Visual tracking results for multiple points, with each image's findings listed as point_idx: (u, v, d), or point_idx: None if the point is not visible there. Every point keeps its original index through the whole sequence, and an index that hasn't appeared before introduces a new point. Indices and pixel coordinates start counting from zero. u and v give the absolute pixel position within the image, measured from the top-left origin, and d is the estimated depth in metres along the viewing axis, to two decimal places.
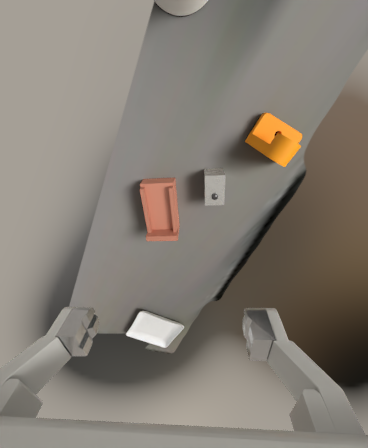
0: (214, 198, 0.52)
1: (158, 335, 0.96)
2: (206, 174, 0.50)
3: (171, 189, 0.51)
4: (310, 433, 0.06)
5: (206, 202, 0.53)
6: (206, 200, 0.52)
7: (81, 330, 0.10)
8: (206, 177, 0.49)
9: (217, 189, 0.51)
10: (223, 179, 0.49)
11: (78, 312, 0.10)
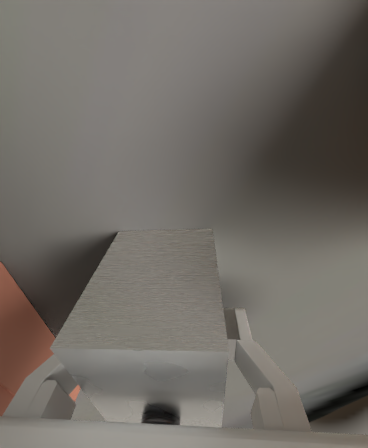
0: None
1: None
2: (84, 312, 0.07)
3: None
4: (310, 433, 0.06)
5: None
6: None
7: None
8: (68, 355, 0.06)
9: (169, 402, 0.07)
10: (212, 370, 0.06)
11: None
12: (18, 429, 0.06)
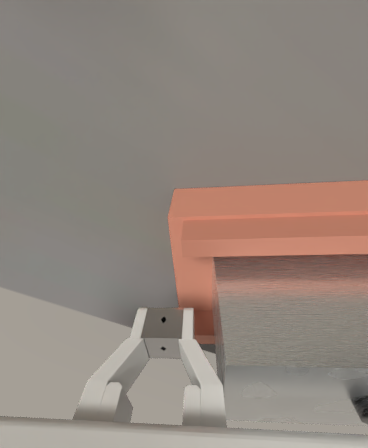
0: None
1: None
2: None
3: (189, 245, 0.09)
4: (310, 433, 0.06)
5: None
6: None
7: None
8: (230, 417, 0.09)
9: (328, 394, 0.07)
10: (259, 372, 0.06)
11: (155, 313, 0.10)
12: (18, 429, 0.06)
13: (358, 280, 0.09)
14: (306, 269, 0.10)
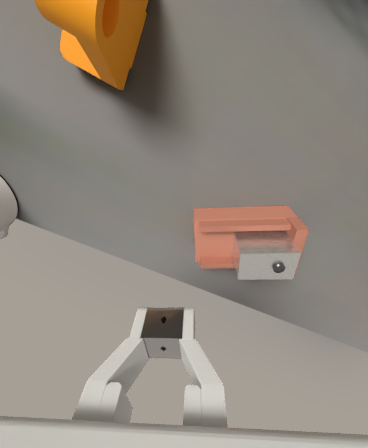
0: (282, 269, 0.28)
1: None
2: (236, 271, 0.31)
3: (201, 228, 0.31)
4: (310, 433, 0.06)
5: (287, 277, 0.29)
6: (283, 277, 0.29)
7: None
8: (240, 277, 0.30)
9: (265, 264, 0.28)
10: (248, 256, 0.28)
11: (155, 313, 0.10)
12: (18, 429, 0.06)
13: (278, 238, 0.30)
14: (263, 235, 0.31)
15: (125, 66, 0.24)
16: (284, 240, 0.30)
